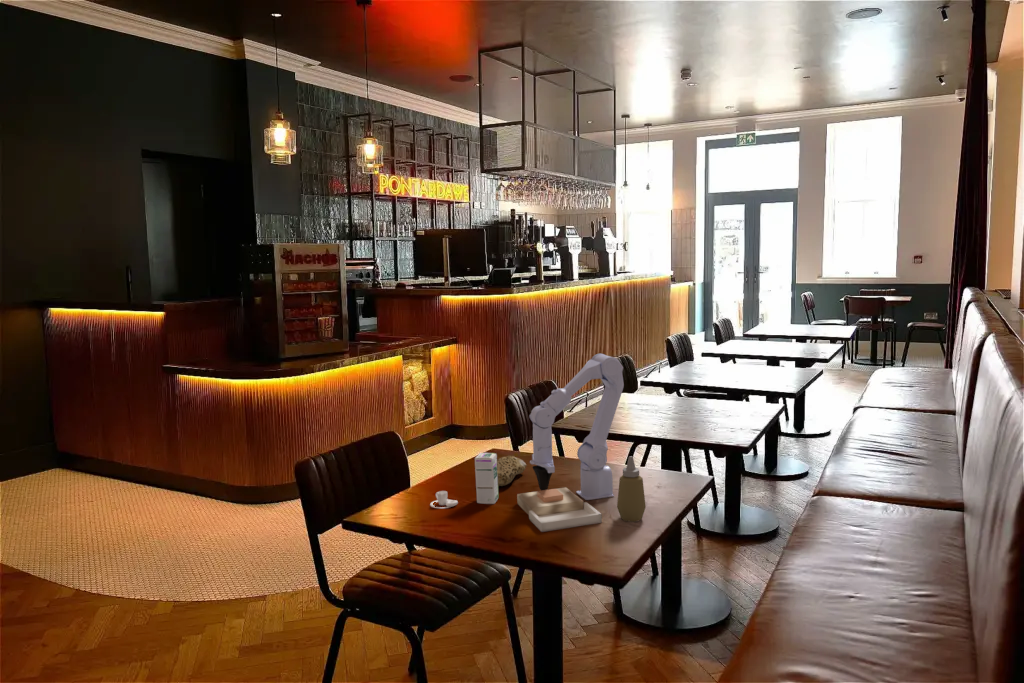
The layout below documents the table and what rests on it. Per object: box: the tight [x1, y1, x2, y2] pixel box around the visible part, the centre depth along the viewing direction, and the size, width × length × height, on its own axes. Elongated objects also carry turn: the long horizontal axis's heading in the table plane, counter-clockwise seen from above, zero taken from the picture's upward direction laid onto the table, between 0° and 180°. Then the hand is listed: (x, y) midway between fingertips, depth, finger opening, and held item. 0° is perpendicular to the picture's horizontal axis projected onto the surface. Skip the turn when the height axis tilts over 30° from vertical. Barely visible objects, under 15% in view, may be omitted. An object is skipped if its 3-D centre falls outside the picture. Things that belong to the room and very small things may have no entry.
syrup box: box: [474, 452, 500, 505], centre depth 221 cm, size 6×6×14 cm
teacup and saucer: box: [429, 490, 459, 509], centre depth 220 cm, size 9×8×4 cm
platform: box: [516, 486, 584, 516], centre depth 214 cm, size 16×13×3 cm
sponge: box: [497, 455, 527, 487], centre depth 241 cm, size 13×8×20 cm
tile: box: [537, 488, 563, 502], centre depth 214 cm, size 6×6×2 cm
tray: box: [528, 501, 603, 533], centre depth 203 cm, size 18×10×2 cm, turn 108°
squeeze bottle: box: [616, 455, 647, 523], centre depth 203 cm, size 8×8×18 cm
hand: (543, 489), depth 219 cm, fingers closed
